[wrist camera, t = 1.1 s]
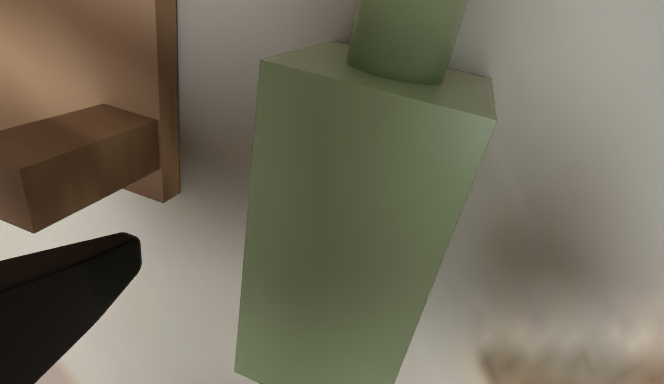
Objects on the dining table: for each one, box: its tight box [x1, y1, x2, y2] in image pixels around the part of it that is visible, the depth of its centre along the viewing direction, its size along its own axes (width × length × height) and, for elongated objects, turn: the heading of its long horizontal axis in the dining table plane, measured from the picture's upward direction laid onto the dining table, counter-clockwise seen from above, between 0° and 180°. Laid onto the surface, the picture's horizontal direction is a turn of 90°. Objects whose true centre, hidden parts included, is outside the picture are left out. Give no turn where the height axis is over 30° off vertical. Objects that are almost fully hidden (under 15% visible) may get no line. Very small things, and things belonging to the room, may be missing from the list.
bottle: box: [234, 0, 497, 384], centre depth 11 cm, size 15×5×5 cm, turn 170°
